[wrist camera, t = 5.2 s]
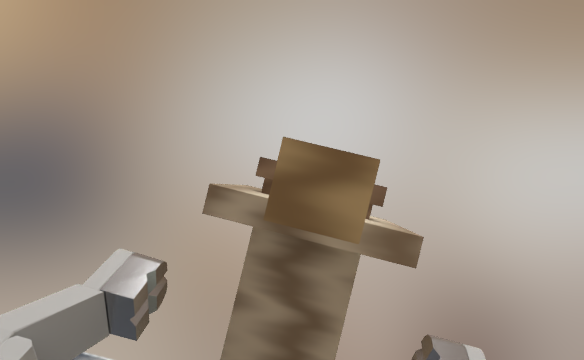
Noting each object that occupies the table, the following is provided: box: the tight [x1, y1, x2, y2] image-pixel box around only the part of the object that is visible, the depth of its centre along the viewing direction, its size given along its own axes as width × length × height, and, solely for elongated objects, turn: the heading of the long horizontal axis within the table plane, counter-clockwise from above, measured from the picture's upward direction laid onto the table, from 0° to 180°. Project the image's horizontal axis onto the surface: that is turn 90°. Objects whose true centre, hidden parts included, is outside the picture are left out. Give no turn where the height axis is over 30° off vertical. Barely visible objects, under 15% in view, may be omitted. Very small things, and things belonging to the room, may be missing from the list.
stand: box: [203, 157, 424, 360], centre depth 28 cm, size 14×12×29 cm
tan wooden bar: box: [263, 137, 380, 244], centre depth 22 cm, size 4×17×4 cm, turn 176°
